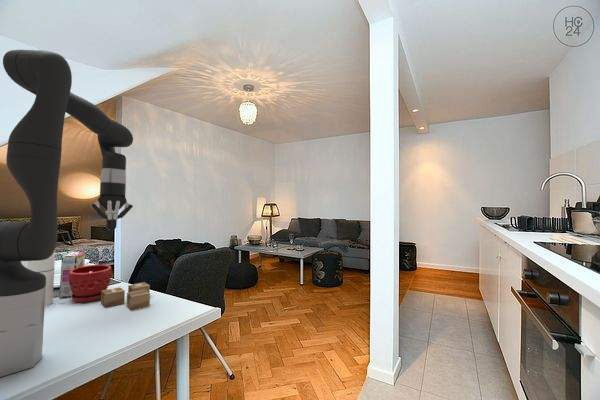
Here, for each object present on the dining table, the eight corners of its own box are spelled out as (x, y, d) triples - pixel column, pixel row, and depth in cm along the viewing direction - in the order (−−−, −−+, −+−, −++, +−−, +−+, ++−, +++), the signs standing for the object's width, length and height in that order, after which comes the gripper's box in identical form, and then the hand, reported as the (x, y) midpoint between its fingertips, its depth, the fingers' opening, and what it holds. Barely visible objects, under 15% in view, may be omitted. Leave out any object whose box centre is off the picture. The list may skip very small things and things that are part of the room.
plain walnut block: (149, 306, 97) (150, 293, 98) (130, 311, 93) (131, 296, 93) (144, 302, 102) (145, 289, 102) (126, 306, 97) (127, 292, 97)
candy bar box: (74, 297, 105) (76, 255, 105) (58, 298, 103) (60, 256, 103) (84, 288, 115) (85, 251, 115) (69, 289, 113) (71, 251, 113)
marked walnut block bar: (124, 304, 99) (124, 290, 99) (104, 308, 95) (105, 293, 95) (119, 299, 103) (120, 286, 103) (100, 303, 99) (101, 290, 99)
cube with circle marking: (149, 297, 107) (149, 284, 107) (132, 301, 102) (132, 288, 102) (144, 294, 111) (144, 281, 111) (127, 297, 106) (128, 284, 106)
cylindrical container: (19, 309, 92) (23, 237, 92) (34, 301, 98) (37, 235, 99) (44, 307, 94) (48, 237, 94) (57, 300, 100) (60, 235, 101)
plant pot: (67, 297, 104) (69, 267, 104) (108, 291, 113) (109, 263, 113) (67, 307, 94) (69, 274, 95) (112, 299, 103) (113, 269, 103)
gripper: (92, 179, 88) (89, 231, 87) (137, 183, 97) (135, 230, 97) (88, 181, 93) (85, 230, 92) (131, 184, 102) (129, 228, 102)
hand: (111, 230), depth 94 cm, fingers closed
